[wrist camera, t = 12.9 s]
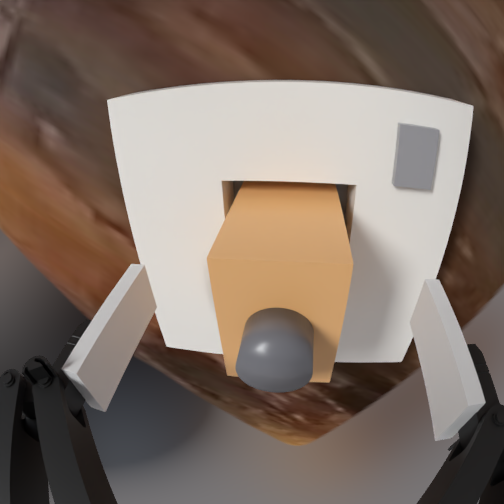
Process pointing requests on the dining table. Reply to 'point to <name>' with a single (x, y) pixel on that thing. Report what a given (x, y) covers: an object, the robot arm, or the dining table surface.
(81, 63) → the dining table surface
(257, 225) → the plug
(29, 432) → the robot arm
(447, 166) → the socket
